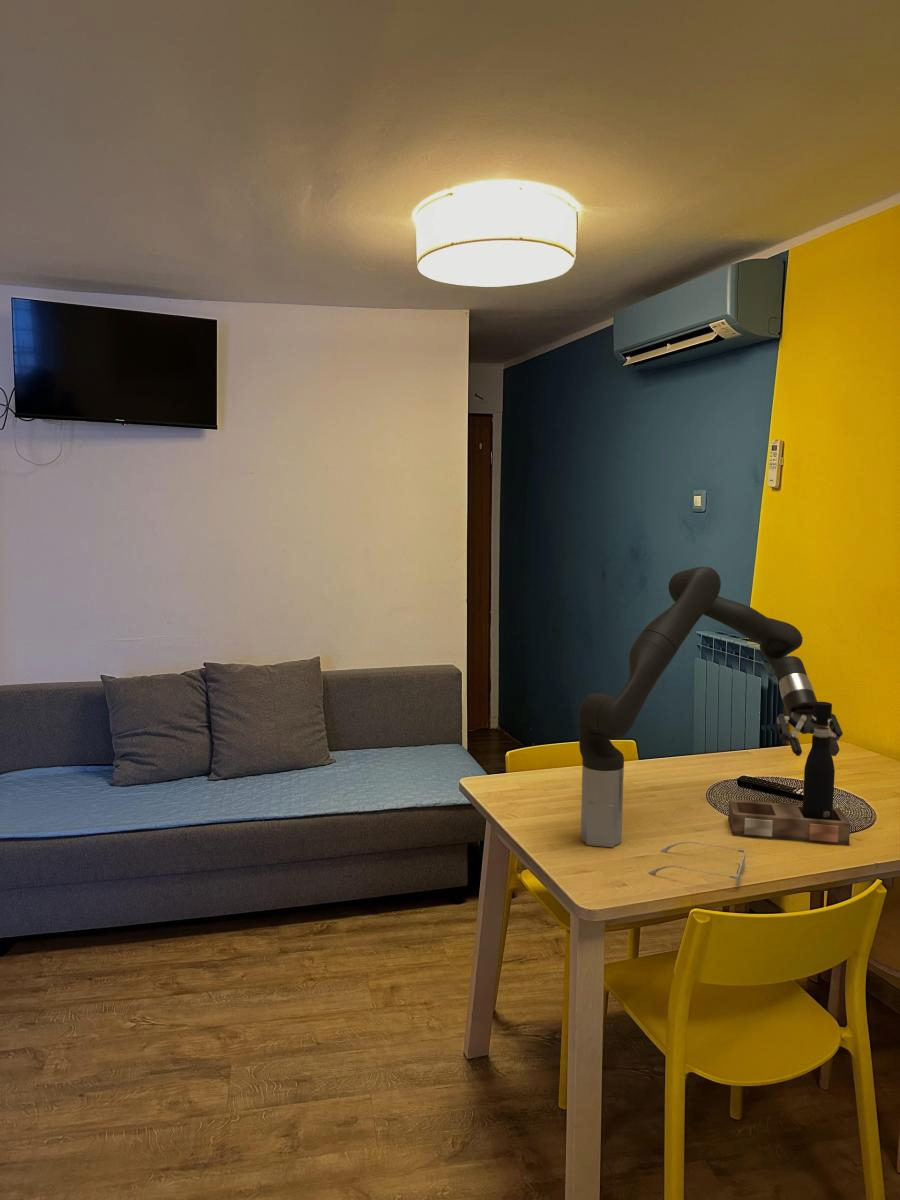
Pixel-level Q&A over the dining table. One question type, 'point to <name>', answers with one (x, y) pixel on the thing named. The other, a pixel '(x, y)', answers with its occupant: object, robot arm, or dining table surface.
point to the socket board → (786, 823)
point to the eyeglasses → (702, 871)
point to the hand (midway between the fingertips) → (817, 754)
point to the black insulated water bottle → (819, 769)
